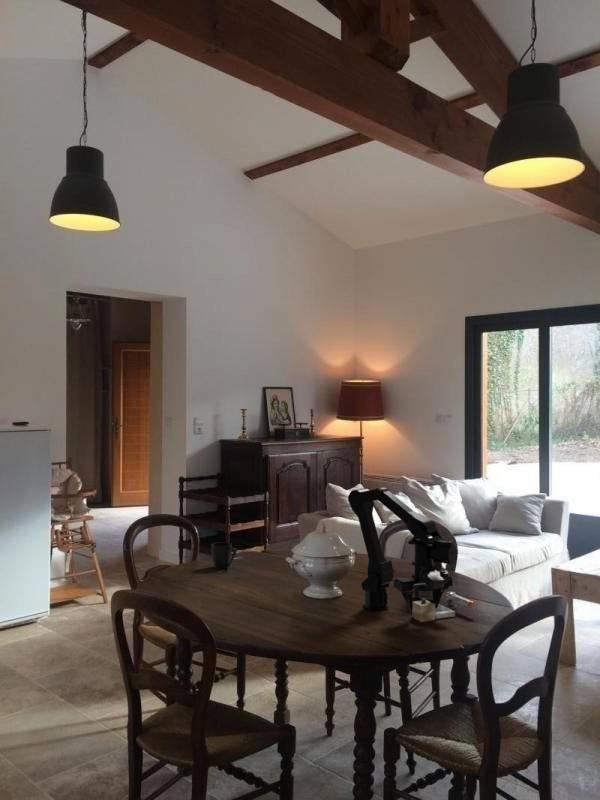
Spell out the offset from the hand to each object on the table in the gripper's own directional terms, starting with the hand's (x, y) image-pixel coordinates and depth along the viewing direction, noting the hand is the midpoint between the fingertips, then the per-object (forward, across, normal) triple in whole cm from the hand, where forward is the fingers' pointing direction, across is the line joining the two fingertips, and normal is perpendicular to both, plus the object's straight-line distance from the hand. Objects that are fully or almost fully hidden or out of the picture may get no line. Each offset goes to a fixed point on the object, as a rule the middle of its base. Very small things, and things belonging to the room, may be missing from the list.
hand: (423, 609), depth 219 cm
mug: (+3, -37, +88) cm, 95 cm away
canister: (+3, +14, +19) cm, 24 cm away
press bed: (+3, +7, +2) cm, 8 cm away
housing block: (+3, 0, 0) cm, 3 cm away
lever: (0, +15, +1) cm, 15 cm away
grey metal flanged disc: (+3, +15, +6) cm, 17 cm away
